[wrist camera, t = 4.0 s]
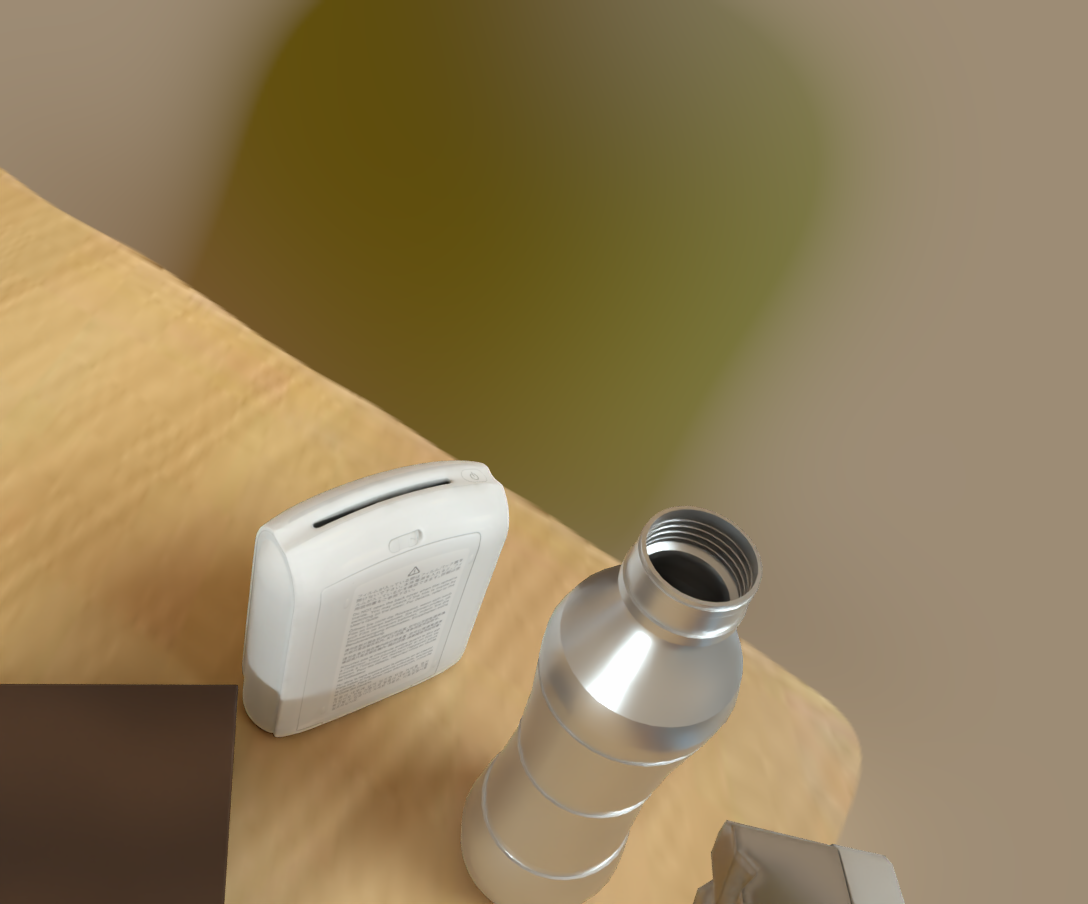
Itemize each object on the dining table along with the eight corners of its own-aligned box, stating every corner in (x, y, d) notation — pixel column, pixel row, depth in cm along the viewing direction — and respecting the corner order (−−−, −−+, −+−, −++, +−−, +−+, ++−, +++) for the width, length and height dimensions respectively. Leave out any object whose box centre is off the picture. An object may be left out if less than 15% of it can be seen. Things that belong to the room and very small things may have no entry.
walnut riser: (-64, 737, 39) (-81, 682, 36) (234, 734, 42) (238, 683, 39) (-155, 1059, 31) (-185, 1021, 29) (215, 1027, 35) (218, 989, 32)
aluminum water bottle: (417, 835, 41) (539, 521, 27) (538, 750, 45) (698, 440, 31) (516, 971, 38) (706, 699, 25) (636, 869, 42) (856, 586, 29)
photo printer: (429, 597, 49) (482, 418, 41) (474, 666, 47) (539, 492, 39) (225, 675, 44) (238, 486, 35) (266, 757, 42) (290, 578, 33)
